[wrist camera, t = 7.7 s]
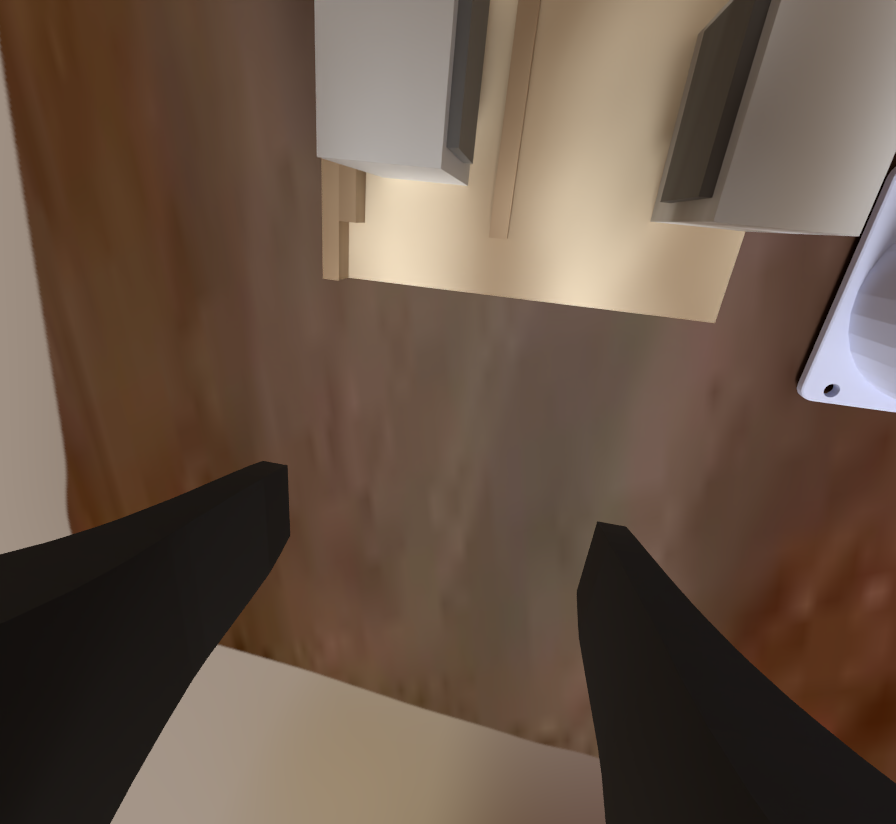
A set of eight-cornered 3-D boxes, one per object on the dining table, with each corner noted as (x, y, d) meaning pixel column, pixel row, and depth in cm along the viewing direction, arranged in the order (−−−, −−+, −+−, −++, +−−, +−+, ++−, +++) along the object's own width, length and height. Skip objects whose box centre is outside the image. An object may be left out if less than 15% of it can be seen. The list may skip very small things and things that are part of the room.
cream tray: (829, -77, 13) (1114, -356, 7) (702, 316, 17) (802, 369, 11) (346, -94, 14) (210, -337, 8) (344, 272, 18) (255, 297, 12)
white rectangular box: (497, -1, 13) (481, -133, 8) (476, 186, 15) (453, 169, 10) (389, -7, 14) (312, -137, 9) (382, 177, 16) (316, 156, 11)
